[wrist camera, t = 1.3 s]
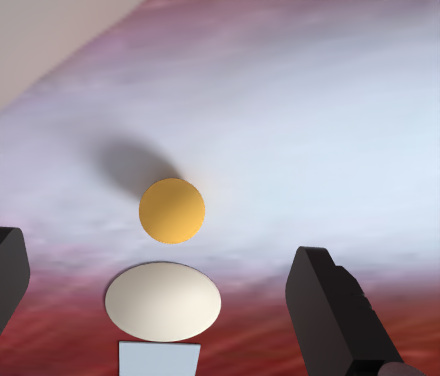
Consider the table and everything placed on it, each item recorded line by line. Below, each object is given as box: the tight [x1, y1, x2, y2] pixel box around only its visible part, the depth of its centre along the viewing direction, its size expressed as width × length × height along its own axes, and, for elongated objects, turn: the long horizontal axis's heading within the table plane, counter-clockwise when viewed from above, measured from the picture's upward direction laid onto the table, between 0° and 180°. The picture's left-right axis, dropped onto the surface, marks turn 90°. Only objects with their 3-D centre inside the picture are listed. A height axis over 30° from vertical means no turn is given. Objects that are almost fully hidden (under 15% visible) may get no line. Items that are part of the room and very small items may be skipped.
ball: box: [139, 178, 205, 244], centre depth 28 cm, size 6×6×6 cm
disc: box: [105, 262, 221, 342], centre depth 37 cm, size 13×13×1 cm
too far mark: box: [119, 341, 200, 376], centre depth 43 cm, size 10×10×1 cm
